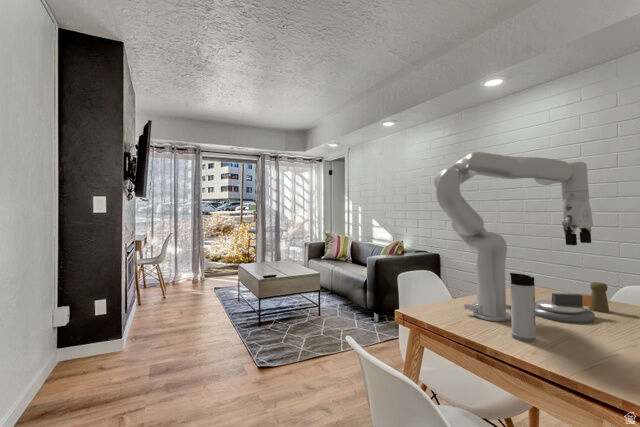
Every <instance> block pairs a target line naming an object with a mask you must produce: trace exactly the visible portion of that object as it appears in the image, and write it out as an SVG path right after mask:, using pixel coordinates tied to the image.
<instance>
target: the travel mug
mask: <svg viewBox="0 0 640 427" xmlns="http://www.w3.org/2000/svg"><path fill="white" fill-rule="evenodd" d="M509 276H510V308H511V310H510V313H511V314H510V315H511V319H510V320H511V322H510V323H511V324H510V325H511V337H512V338H514V339H515V340H517V341H521V342H526V343H528V342H529V343H530V342H531V343H532V342H535V341H536V340H537V339H536V338H537V337H536V334H537V333H536V332H537V331H536V329H537V328H536V316H535V302H536V288H535V287H536V284H535V277H534V276H530V274H529V275H528V274H525V273H524V274H523V273H518V272H517V273H516V272H515V273H514V272H510V273H509Z"/></svg>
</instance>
